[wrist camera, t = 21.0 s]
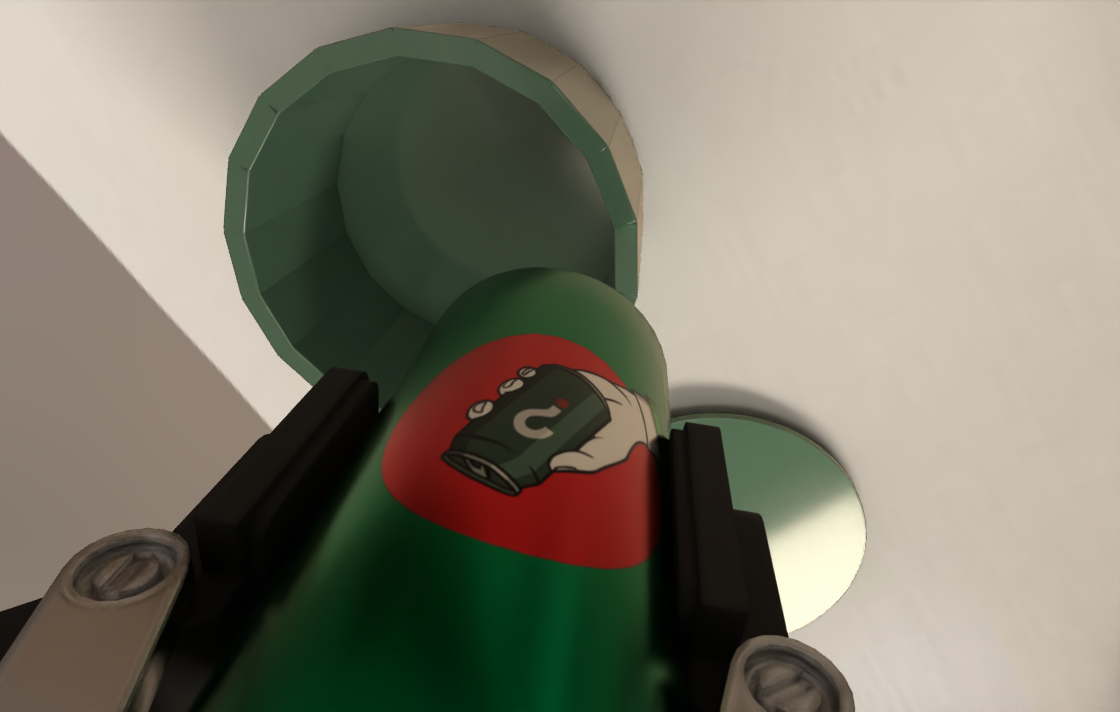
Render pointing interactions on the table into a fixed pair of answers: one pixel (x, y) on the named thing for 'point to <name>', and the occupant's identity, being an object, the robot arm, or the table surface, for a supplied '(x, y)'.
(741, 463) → the bowl lid
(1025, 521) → the table surface
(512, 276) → the soda can
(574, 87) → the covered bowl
